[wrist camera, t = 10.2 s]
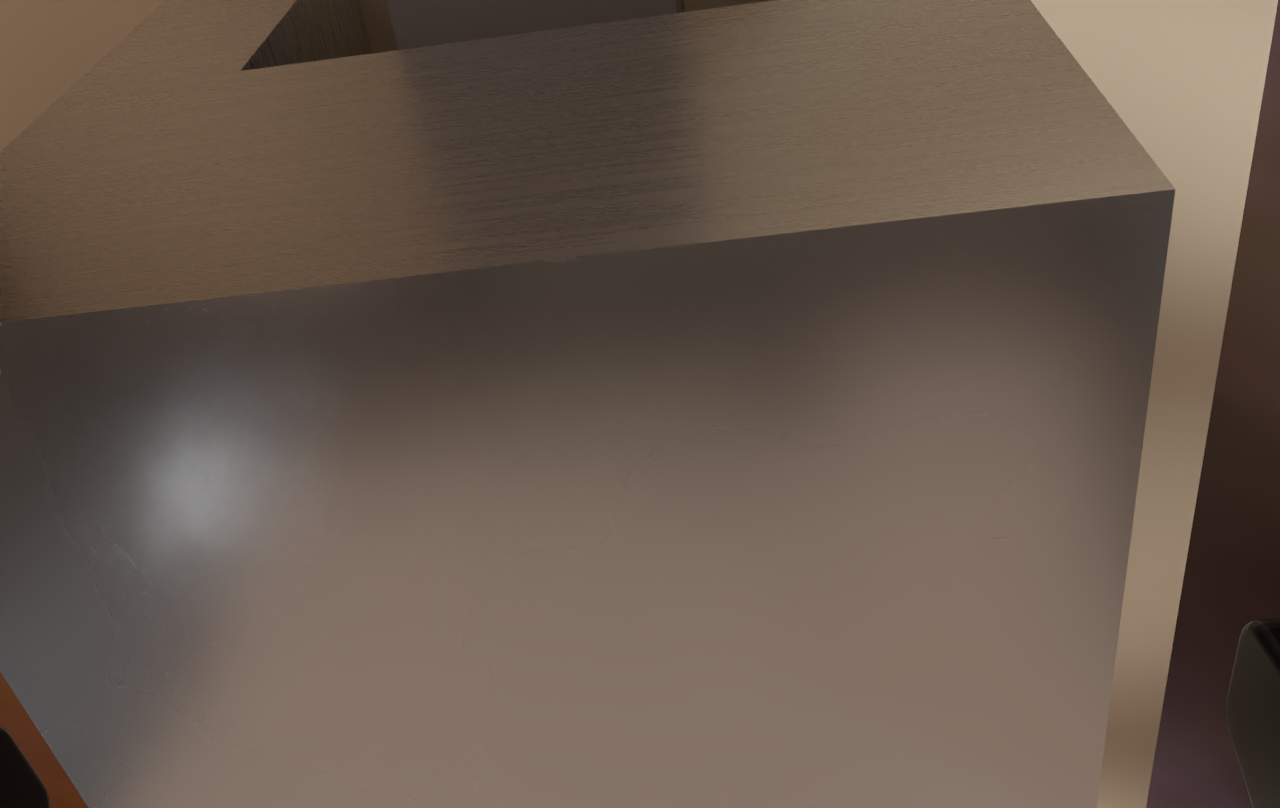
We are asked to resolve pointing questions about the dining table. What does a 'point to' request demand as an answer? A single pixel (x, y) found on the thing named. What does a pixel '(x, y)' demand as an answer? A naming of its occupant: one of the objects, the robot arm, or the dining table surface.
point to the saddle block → (576, 411)
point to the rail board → (1126, 76)
